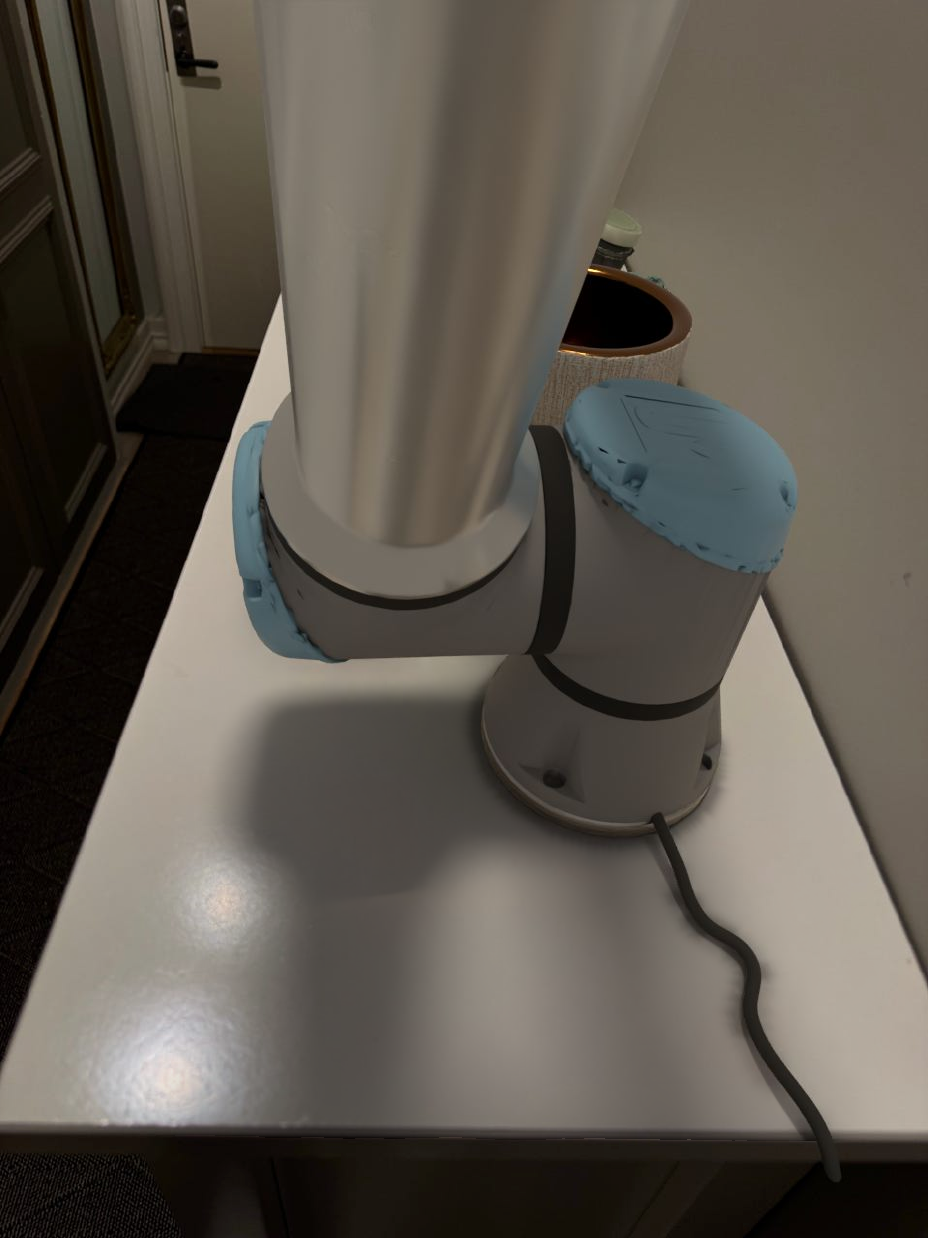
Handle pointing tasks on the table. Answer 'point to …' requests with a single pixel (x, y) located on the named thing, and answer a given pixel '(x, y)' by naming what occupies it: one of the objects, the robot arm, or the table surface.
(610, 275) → the planter
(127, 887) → the table surface
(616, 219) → the boat shoe
